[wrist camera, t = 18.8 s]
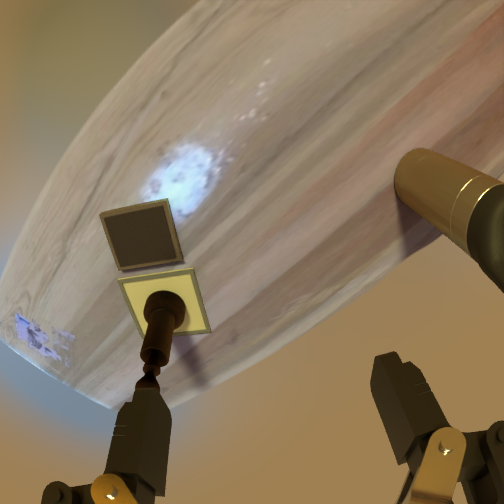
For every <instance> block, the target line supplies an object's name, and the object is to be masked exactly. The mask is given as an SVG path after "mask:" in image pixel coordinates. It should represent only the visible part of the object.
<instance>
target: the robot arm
mask: <svg viewBox="0 0 504 504" xmlns="http://www.w3.org/2000/svg"><path fill="white" fill-rule="evenodd" d="M394 184H395V190H396V193H397V195H398V197H399V199H400V200H401V201H402V202H403V203H404V204H406V205H407V206H408V207H410V208H411V209H412V210H414V211H415V212H416V213H417V214H419V215H420V216H421V217H423V218H424V219H425V220H426V221H428V222H429V223H430V224H432V225H433V226H434V227H435V228H437V229H438V230H439V231H440V232H442V233H443V234H444V235H445V236H447V237H448V238H449V239H450V240H451V241H452V242H454V243H455V244H456V245H457V246H459V247H460V248H461V249H462V250H463V251H464V252H466V253H467V254H468V255H469V256H470V257H471V258H473V259H474V260H475V261H476V262H477V263H478V264H479V266H480V267H481V269H482V270H483V272H484V273H485V274H486V275H487V276H488V277H489V278H490V279H491V280H492V281H493V282H494V283H495V284H496V285H497V286H498V288H499V289H501V291H502V292H503V293H504V183H503V182H501V181H499V180H497V179H495V178H493V177H491V176H489V175H487V174H484V173H482V172H480V171H478V170H476V169H474V168H471V167H469V166H467V165H465V164H462V163H460V162H458V161H455V160H453V159H451V158H448V157H446V156H444V155H441V154H439V153H436V152H433V151H431V150H428V149H424V148H419V149H415V150H412V151H410V152H409V153H407V154H406V155H405V156H404V157H403V158H402V159H401V161H400V162H399V164H398V166H397V169H396V172H395V179H394ZM370 385H371V392H372V396H373V398H374V401H375V404H376V406H377V409H378V411H379V414H380V417H381V419H382V422H383V424H384V427H385V430H386V432H387V435H388V438H389V441H390V443H391V446H392V449H393V452H394V454H395V457H396V460H397V463H398V465H401V464H403V463H406V462H407V463H408V466H409V471H408V474H407V476H406V479H405V481H404V484H403V486H402V488H401V491H400V493H399V495H398V497H397V500H396V502H395V504H454V503H453V501H452V496H453V492H454V489H455V486H456V483H457V482H461V484H462V486H463V490H464V493H465V496H466V499H467V502H468V504H504V421H498V422H495V423H494V424H493V425H491V427H490V428H489V429H488V430H485V431H478V432H470V433H464V432H460V431H459V430H457V429H455V428H453V427H451V426H450V425H449V423H448V421H447V420H446V418H445V416H444V414H443V412H442V410H441V408H440V406H439V404H438V402H437V400H436V398H435V397H434V394H433V392H431V389H430V387H429V385H428V383H426V379H425V378H424V376H423V374H422V372H421V370H420V369H419V368H417V367H416V366H415V365H413V363H411V362H410V361H409V362H406V363H402V361H401V359H400V358H399V356H398V354H397V353H396V352H394V351H393V352H390V353H386V354H382V355H378V356H376V357H375V359H374V364H373V370H372V376H371V381H370ZM115 425H116V427H115V428H114V432H113V435H114V436H112V440H111V445H110V450H109V454H108V459H107V463H106V468H105V471H104V473H103V475H101V476H99V477H97V478H96V479H95V480H94V482H93V483H92V484H88V485H82V486H75V487H69V486H68V485H66V484H65V483H63V482H60V481H55V482H52V483H50V484H49V485H47V486H46V488H45V490H44V492H43V496H42V501H41V504H154V502H155V496H164V497H165V486H166V474H167V464H168V453H169V444H170V435H171V426H172V418H171V414H170V410H169V408H168V407H167V405H166V403H165V402H164V400H163V398H162V396H161V395H160V393H159V391H158V390H157V388H137V389H136V390H135V391H134V395H133V399H132V402H125V404H124V405H123V406H122V408H121V409H120V411H119V412H118V415H117V420H116V423H115Z"/></svg>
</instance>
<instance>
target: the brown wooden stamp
mask: <svg viewBox="0 0 504 504" xmlns="http://www.w3.org/2000/svg"><path fill="white" fill-rule="evenodd" d="M185 312H186V306H185V303H184V301H183V299H182V298H181V297H180V296H179V295H177V294H176V293H174V292H171V291H166V290H160V291H156V292H154V293H152V294H150V295H149V297H148V298H147V300H146V303H145V306H144V310H143V315H144V319H145V321H146V322H147V323H148V326H147V330H146V334H145V337H144V341H143V345H142V349H141V352H140V357H141V359H142V360H143V361H144V362H145V364H144V366H143V372H144V373H145V375H144V376H143V377H142V378H141V379H140V380H139V381H138V382H137V383H136V386H135V390H136V389H137V388H157V390H158V391H159V393H160V387H159V384H158V382H157V380H156V376H158V375H159V374H160V367H163V366H165V365H167V364H168V362H169V357H170V350H171V344H172V337H173V331H174V330H175V329H177V328H179V327H180V326H181V325H182V324H183V322H184V318H185Z"/></svg>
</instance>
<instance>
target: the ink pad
mask: <svg viewBox="0 0 504 504" xmlns="http://www.w3.org/2000/svg"><path fill="white" fill-rule="evenodd" d="M100 219H101V222H102V225H103V228H104V231H105V234H106V237H107V240H108V243H109V246H110V249H111V251H112V254H113V257H114V260H115V262H116V265H117V268H118V271H120V270H126V269H132V268H139V267H145V266H151V265H158V264H164V263H170V262H177V261H182V258H183V256H182V253H181V249H180V245H179V241H178V238H177V234H176V230H175V226H174V222H173V218H172V214H171V210H170V206H169V202H168V198H166V199H161V200H156V201H151V202H146V203H141V204H137V205H132V206H127V207H123V208H118V209H114V210H109V211H105V212H102V213H101V214H100Z"/></svg>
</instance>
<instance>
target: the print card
mask: <svg viewBox="0 0 504 504" xmlns="http://www.w3.org/2000/svg"><path fill="white" fill-rule="evenodd" d="M117 281H118V284H119V286H120V289H121V291H122V294H123V296H124V299H125V301H126V303H127V306H128V308H129V310H130V313H131V315H132V317H133V320H134V322H135V324H136V326H137V329H138V331H139V333H140V335H141V337H142V339H144V337H145V334H146V330H147V326H148V323H147V322H146V321H145V319H144V315H143V310H144V306H145V303H146V300H147V298H148V297H149V295H150V294H152V293H154V292H156V291H160V290H166V291H171V292H174V293H176V294H177V295H179V296H180V297H181V298H182V299H183V301H184V303H185V306H186V312H185V318H184V322H183V324H182V325H181V326H180V327H179V328H177V329H175V330H174V331H173V336H182V335H191V334H200V333H208V332H211V329H210V326H209V322H208V319H207V315H206V312H205V309H204V305H203V301H202V298H201V294H200V291H199V287H198V284H197V280H196V276H195V273H194V269H193V268H187V269H180V270H173V271H167V272H160V273H154V274H147V275H140V276H134V277H127V278H120V279H118V280H117Z"/></svg>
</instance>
